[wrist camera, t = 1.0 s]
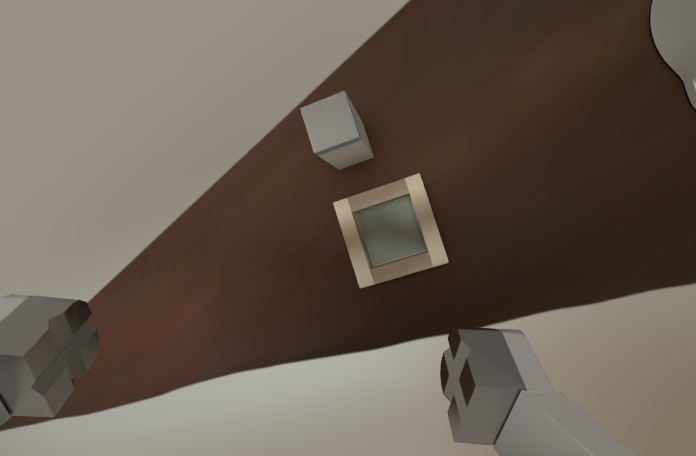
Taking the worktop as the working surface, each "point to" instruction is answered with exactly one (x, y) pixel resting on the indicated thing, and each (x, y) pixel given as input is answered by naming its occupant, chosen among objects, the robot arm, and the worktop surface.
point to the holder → (390, 231)
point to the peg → (337, 131)
